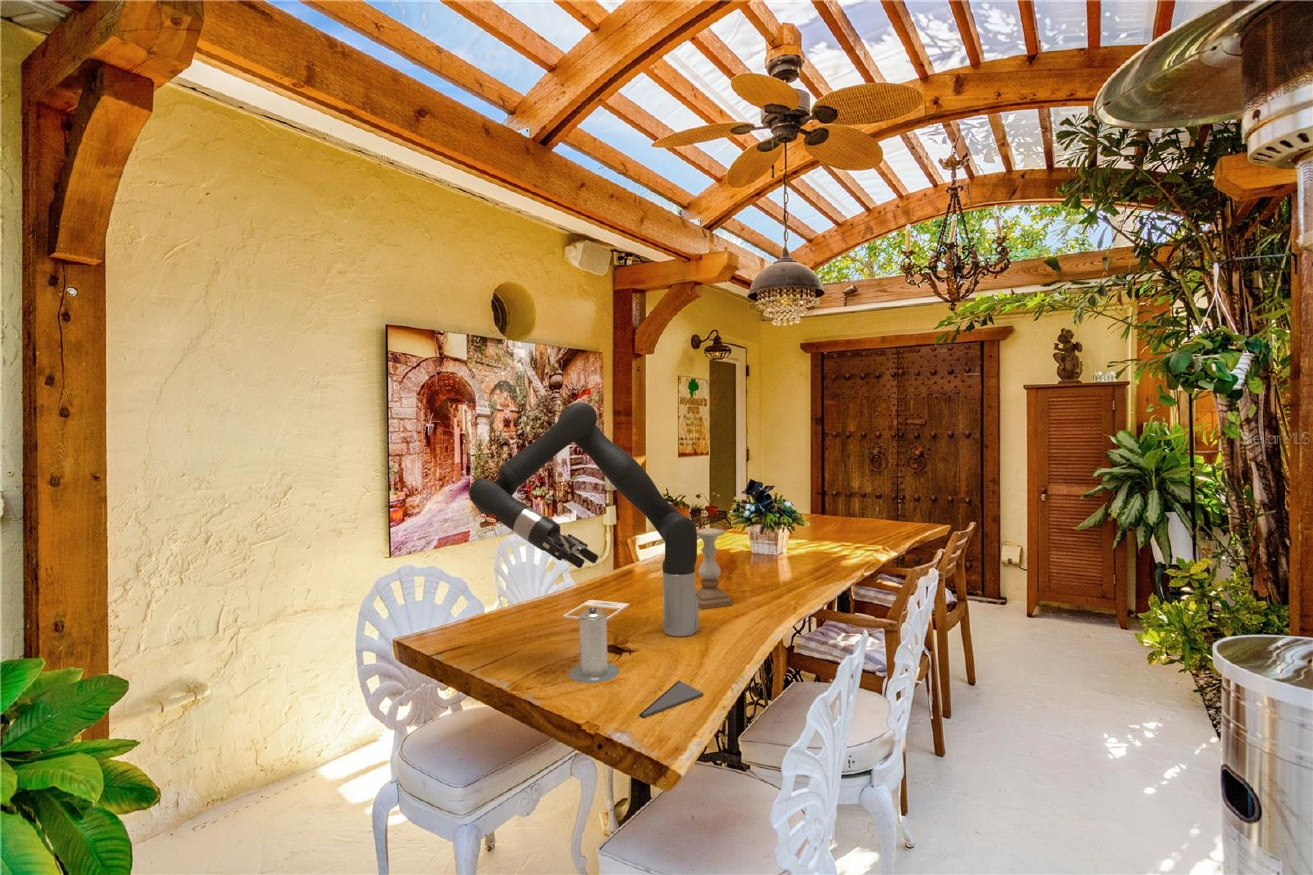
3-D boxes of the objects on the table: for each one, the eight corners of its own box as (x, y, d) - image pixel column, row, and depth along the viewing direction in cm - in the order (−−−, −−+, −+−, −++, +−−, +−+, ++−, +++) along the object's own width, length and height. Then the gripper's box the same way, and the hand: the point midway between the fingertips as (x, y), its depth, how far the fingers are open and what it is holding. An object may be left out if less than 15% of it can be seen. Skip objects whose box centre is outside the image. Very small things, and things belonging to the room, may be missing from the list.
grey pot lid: (602, 662, 152) (602, 650, 152) (629, 677, 142) (629, 664, 142) (559, 674, 145) (559, 662, 145) (584, 692, 135) (584, 678, 135)
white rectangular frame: (629, 603, 200) (605, 619, 183) (629, 606, 200) (605, 623, 183) (589, 599, 205) (562, 615, 188) (589, 602, 205) (562, 618, 188)
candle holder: (688, 600, 203) (686, 529, 203) (717, 596, 207) (716, 526, 207) (702, 609, 193) (700, 534, 193) (732, 605, 197) (731, 532, 197)
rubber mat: (658, 672, 145) (658, 670, 145) (703, 695, 132) (703, 693, 132) (601, 691, 135) (601, 688, 135) (643, 718, 122) (643, 715, 122)
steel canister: (590, 665, 147) (589, 603, 147) (611, 669, 145) (610, 606, 144) (576, 674, 142) (574, 610, 142) (597, 679, 139) (596, 614, 139)
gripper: (529, 517, 144) (585, 552, 139) (556, 513, 158) (607, 545, 153) (515, 544, 145) (570, 580, 140) (543, 539, 158) (594, 571, 154)
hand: (589, 562), depth 146 cm, fingers open, 8 cm apart
